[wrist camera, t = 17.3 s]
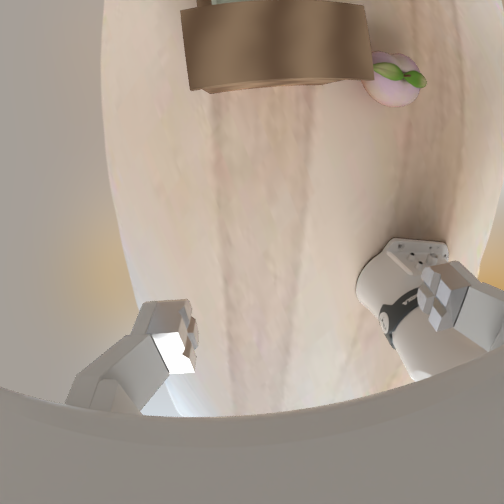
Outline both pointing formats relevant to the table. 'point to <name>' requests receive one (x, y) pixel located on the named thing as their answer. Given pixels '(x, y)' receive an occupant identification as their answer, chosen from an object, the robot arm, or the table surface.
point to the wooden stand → (275, 44)
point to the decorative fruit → (394, 79)
